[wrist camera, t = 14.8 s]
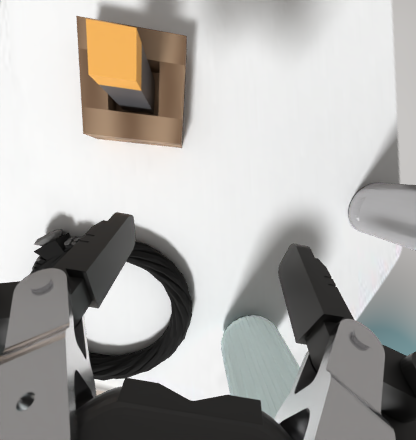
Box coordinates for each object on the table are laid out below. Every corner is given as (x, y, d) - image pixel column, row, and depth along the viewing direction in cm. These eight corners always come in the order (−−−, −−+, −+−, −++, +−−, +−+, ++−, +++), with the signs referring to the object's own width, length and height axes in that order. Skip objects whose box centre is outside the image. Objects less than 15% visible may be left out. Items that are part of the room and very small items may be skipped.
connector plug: (154, 81, 26) (136, 27, 16) (154, 113, 27) (136, 81, 17) (123, 76, 25) (85, 18, 16) (124, 110, 26) (88, 74, 17)
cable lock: (87, 409, 35) (-48, 285, 27) (96, 386, 39) (-20, 271, 31) (220, 338, 35) (123, 191, 27) (216, 322, 38) (131, 189, 30)
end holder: (186, 55, 26) (186, 35, 23) (181, 147, 29) (181, 144, 25) (93, 40, 25) (76, 15, 21) (97, 138, 28) (83, 133, 24)
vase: (252, 362, 41) (324, 567, 20) (207, 342, 39) (235, 555, 17) (284, 321, 40) (401, 498, 18) (240, 298, 37) (314, 473, 16)
